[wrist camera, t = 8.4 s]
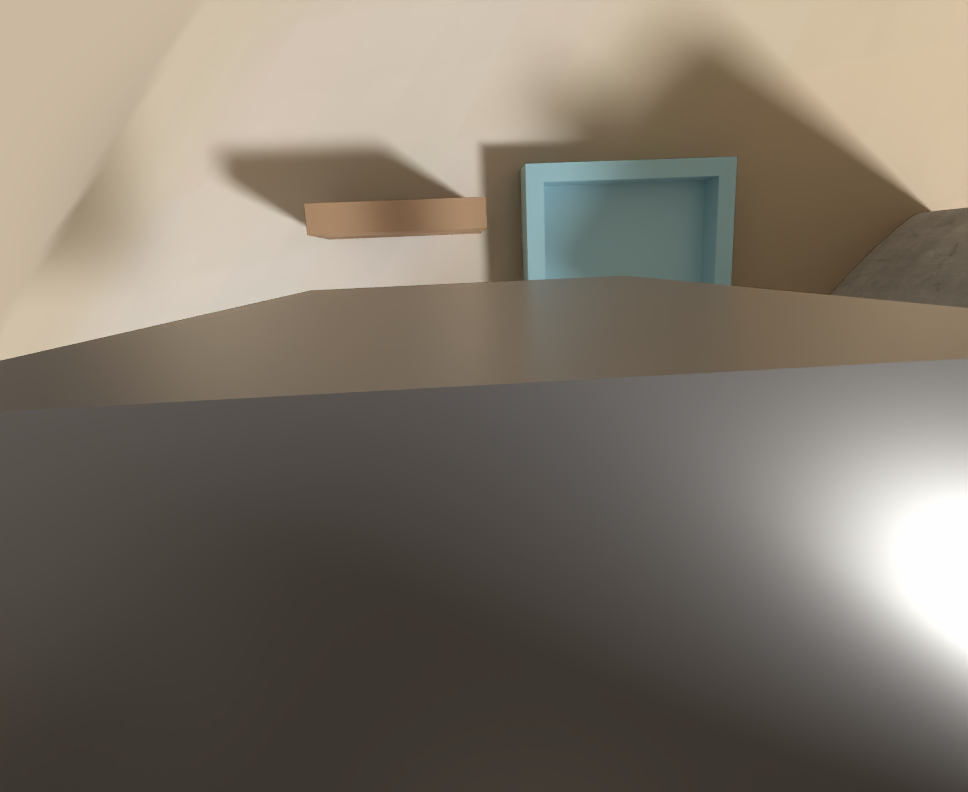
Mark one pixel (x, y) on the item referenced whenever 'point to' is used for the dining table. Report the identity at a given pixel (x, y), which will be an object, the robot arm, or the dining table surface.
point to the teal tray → (629, 219)
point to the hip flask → (916, 263)
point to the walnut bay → (396, 218)
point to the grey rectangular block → (491, 545)
